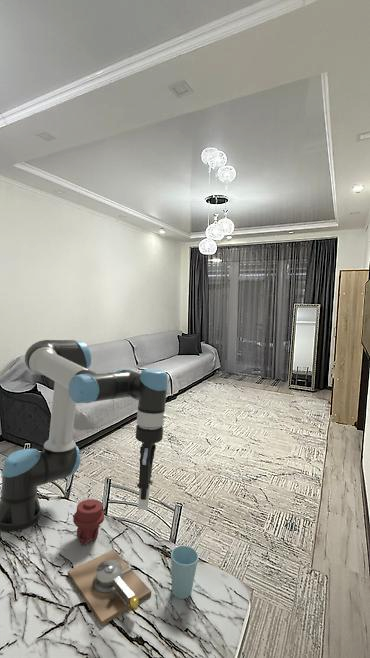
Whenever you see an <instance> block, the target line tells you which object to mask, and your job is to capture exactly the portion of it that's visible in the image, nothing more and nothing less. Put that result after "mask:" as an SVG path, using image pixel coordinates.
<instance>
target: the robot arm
mask: <svg viewBox="0 0 370 658" xmlns="http://www.w3.org/2000/svg"><path fill="white" fill-rule="evenodd" d="M91 353H92V352H91V350H90V348H89V346H88V344H87V343H86V342H85V341H82V340H76V339H42V340H39V341H37V342H35V343H33V344H31V345H30V347H28V348H27V350H26V352H25V355H24V363H25V366H26V368H27V369H28V370H30V371H31V372H32V373H34V374H36V375H39V376H45V377H46V378H49V379H50V380H51V381H54V385H53V395H52V404H51V405H52V406H51V413H50V414H51V415H50V423H49V435H48V439H47V440H46V441H45V442H44V443H43V450H42V451H40V450H38V449H37V448H24V449H19V450H17V451H16V450H15V451H14V452H12V453H10V454H9V455H7V457H6V458H5V460H4V461H3V468H2V471H1V474H2V477H1V478H2V479H1V487H0V488H1V490H0V531H2V532H10V533H11V532H18V531H22V530H25V529H28V528H30V527H31V526H33V525H35V524H36V523H38V521H39V520H40V517H41V515H42V513H41V512H42V508H41V504H40V501H39V500H40V499H39V497H38V487H39V486H42V485H45V484H49V483H52V482H55V481H59V480H64V479H66V478H68V477H71V476H73V475H74V474H76V472H77V471H78V469H79V468H80V464H81V459H82V458H81V452H80V449H79V447H78V445H77V444H76V442H75V440H74V439H73V434H74V425H75V418H76V417H75V416H76V409H77V408H76V407H77V404H91V403H95V402H102V401H107V400H109V401H110V400H117V399H124V398H131V399H134V400H136V401H138V406H137V413H136V429H135V439H136V441H138V442H141V446H140V449H139V454H140V457H139V472H138V473H139V475H138V483H137V484H136V485H137V486H136V487H137V488H138V502H137V510H142V511H148V509H149V500H150V499H149V498H150V489H151V488H150V487H151V485H152V484H153V482H154V480H152V477H153V476H152V472H153V463H154V458H155V452H156V448H157V443H159V442H161V441H162V440H163V437H164V436H163V435H164V423H165V421H164V420H165V419H167V414H165V412H166V400H167V390H168V373H167V372H166V371H165V370H163V369H156V368H144V369H142V370H141V372H136V371H134V370H131V369H125V368H124V369H123V368H122V369H118V370H116V372H100V373H99V372H95V371H92V370H89V368H90V367H91V365H92V354H91Z"/></svg>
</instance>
